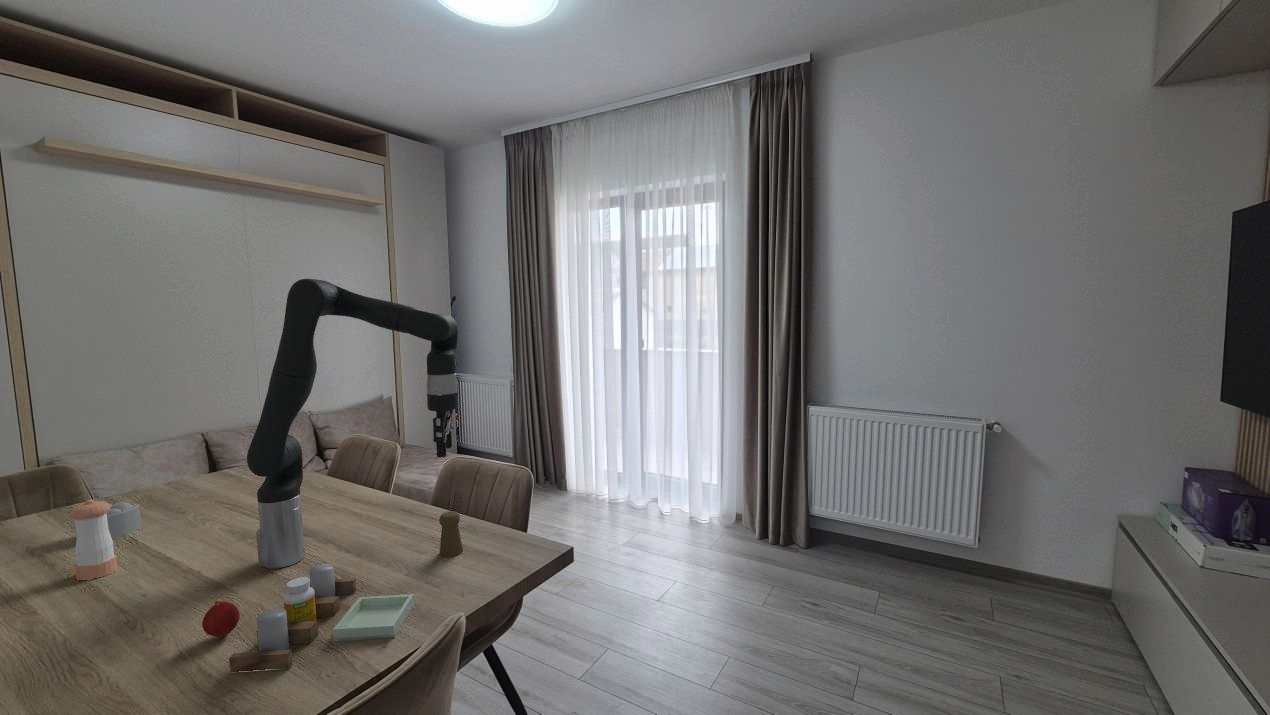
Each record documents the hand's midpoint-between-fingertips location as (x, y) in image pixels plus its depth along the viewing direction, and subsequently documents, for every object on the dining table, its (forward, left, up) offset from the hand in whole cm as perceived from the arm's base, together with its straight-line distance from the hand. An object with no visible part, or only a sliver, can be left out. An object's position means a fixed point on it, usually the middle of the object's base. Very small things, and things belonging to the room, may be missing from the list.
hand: (444, 452), depth 135 cm
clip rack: (-22, -29, -28) cm, 46 cm away
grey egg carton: (-106, +26, -28) cm, 113 cm away
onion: (-36, -31, -28) cm, 55 cm away
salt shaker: (-87, 0, -28) cm, 91 cm away
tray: (-7, -29, -28) cm, 41 cm away
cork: (0, +2, -28) cm, 28 cm away
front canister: (-22, -38, -28) cm, 52 cm away
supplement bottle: (-22, -29, -28) cm, 46 cm away
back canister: (-22, -20, -28) cm, 41 cm away
